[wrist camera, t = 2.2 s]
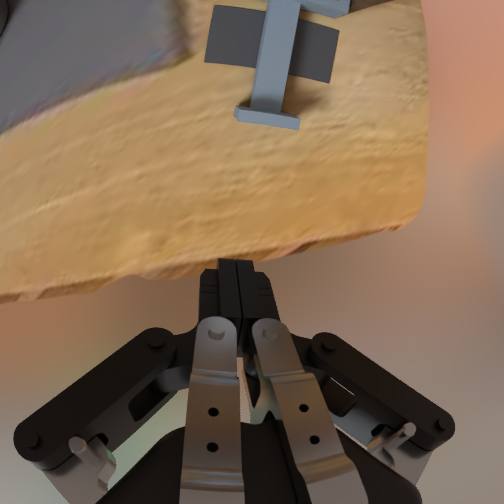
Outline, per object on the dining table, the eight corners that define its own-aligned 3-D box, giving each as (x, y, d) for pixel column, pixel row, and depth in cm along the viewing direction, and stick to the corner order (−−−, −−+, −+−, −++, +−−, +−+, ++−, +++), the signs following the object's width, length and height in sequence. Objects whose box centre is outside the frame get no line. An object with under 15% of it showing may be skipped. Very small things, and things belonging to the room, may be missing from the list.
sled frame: (205, 113, 28) (204, 118, 25) (243, -80, 14) (248, -97, 10) (312, 128, 31) (326, 135, 27) (345, -55, 16) (361, -66, 13)
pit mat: (204, 62, 25) (204, 62, 25) (214, 5, 21) (214, 5, 21) (328, 83, 28) (328, 83, 28) (338, 31, 24) (338, 31, 24)
